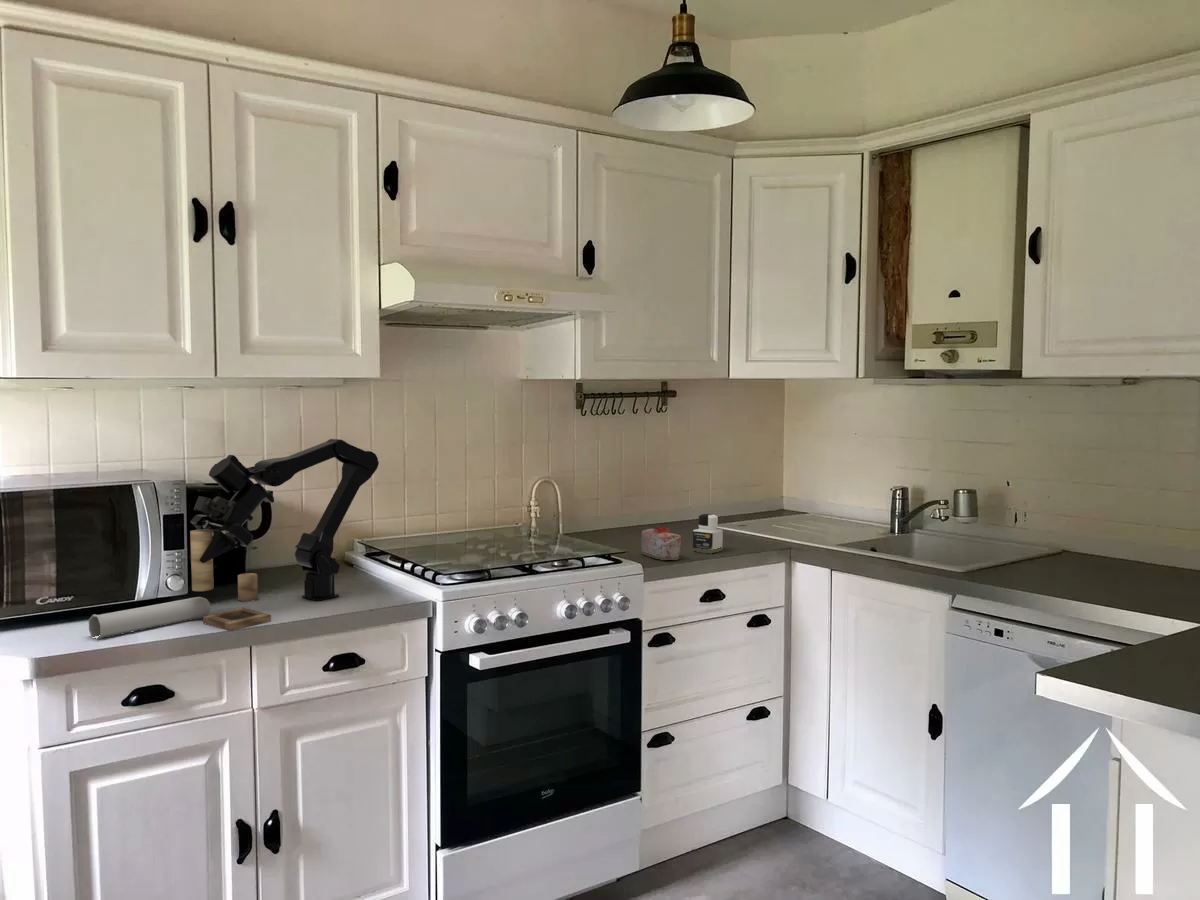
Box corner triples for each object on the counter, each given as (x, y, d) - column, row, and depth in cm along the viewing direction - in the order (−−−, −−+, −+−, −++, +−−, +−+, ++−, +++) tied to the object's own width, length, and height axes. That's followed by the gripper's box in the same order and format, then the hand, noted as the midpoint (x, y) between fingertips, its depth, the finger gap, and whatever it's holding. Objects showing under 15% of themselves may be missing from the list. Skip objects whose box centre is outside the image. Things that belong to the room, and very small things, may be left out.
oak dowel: (202, 585, 206) (201, 528, 205) (218, 587, 205) (216, 529, 204) (187, 590, 202) (185, 531, 201) (203, 591, 201) (201, 533, 200)
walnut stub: (250, 596, 226) (250, 572, 226) (261, 599, 224) (260, 574, 223) (234, 599, 223) (233, 575, 222) (245, 602, 220) (244, 577, 220)
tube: (200, 596, 210) (86, 616, 190) (212, 592, 207) (98, 612, 187) (204, 619, 209) (90, 642, 189) (216, 615, 206) (103, 638, 186)
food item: (684, 560, 279) (685, 528, 278) (663, 563, 274) (664, 530, 273) (656, 553, 290) (657, 522, 289) (636, 556, 285) (637, 524, 285)
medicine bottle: (692, 552, 293) (692, 514, 292) (703, 548, 299) (703, 512, 298) (712, 554, 289) (712, 516, 288) (722, 551, 295) (723, 514, 294)
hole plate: (244, 614, 209) (243, 607, 209) (270, 621, 203) (270, 614, 203) (203, 623, 201) (203, 616, 201) (229, 630, 195) (229, 623, 195)
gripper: (197, 479, 211) (150, 533, 203) (238, 486, 199) (189, 543, 191) (231, 509, 217) (186, 563, 210) (272, 518, 205) (226, 574, 198)
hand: (196, 560), depth 202 cm, fingers closed on oak dowel, 4 cm apart
